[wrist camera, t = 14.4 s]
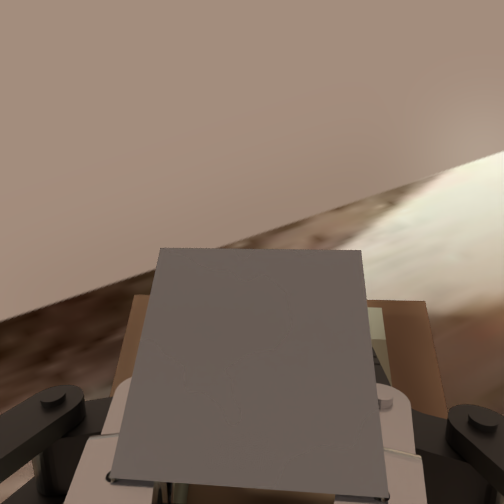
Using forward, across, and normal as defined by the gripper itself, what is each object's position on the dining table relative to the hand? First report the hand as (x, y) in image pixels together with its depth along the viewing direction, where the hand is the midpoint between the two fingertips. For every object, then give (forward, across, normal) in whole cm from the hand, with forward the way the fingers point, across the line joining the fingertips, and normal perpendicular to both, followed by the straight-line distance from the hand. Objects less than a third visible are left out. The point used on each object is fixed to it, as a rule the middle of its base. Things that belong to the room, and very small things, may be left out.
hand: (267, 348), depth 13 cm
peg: (+2, 0, +5) cm, 5 cm away
